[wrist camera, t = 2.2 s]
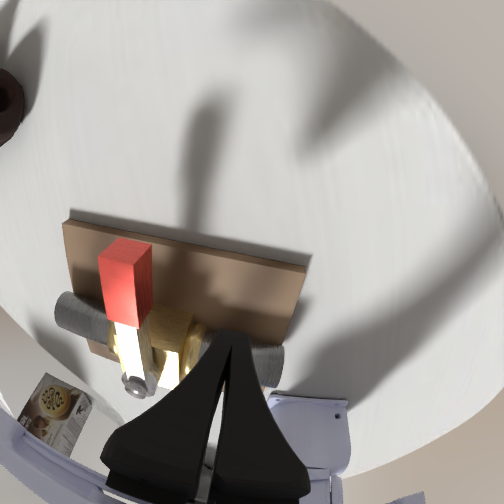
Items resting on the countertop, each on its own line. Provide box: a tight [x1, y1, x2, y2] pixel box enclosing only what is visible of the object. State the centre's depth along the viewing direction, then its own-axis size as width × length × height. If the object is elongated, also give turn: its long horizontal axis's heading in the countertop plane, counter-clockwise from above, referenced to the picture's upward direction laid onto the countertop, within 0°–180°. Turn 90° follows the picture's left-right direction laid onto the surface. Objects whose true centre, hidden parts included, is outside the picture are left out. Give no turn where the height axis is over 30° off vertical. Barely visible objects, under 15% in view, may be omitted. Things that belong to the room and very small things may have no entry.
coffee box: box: [17, 373, 92, 457], centre depth 27 cm, size 9×6×16 cm
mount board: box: [62, 219, 306, 392], centre depth 22 cm, size 20×16×1 cm
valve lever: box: [98, 237, 162, 399], centre depth 15 cm, size 12×3×3 cm, turn 170°
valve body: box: [54, 291, 284, 389], centre depth 20 cm, size 20×5×5 cm, turn 80°
